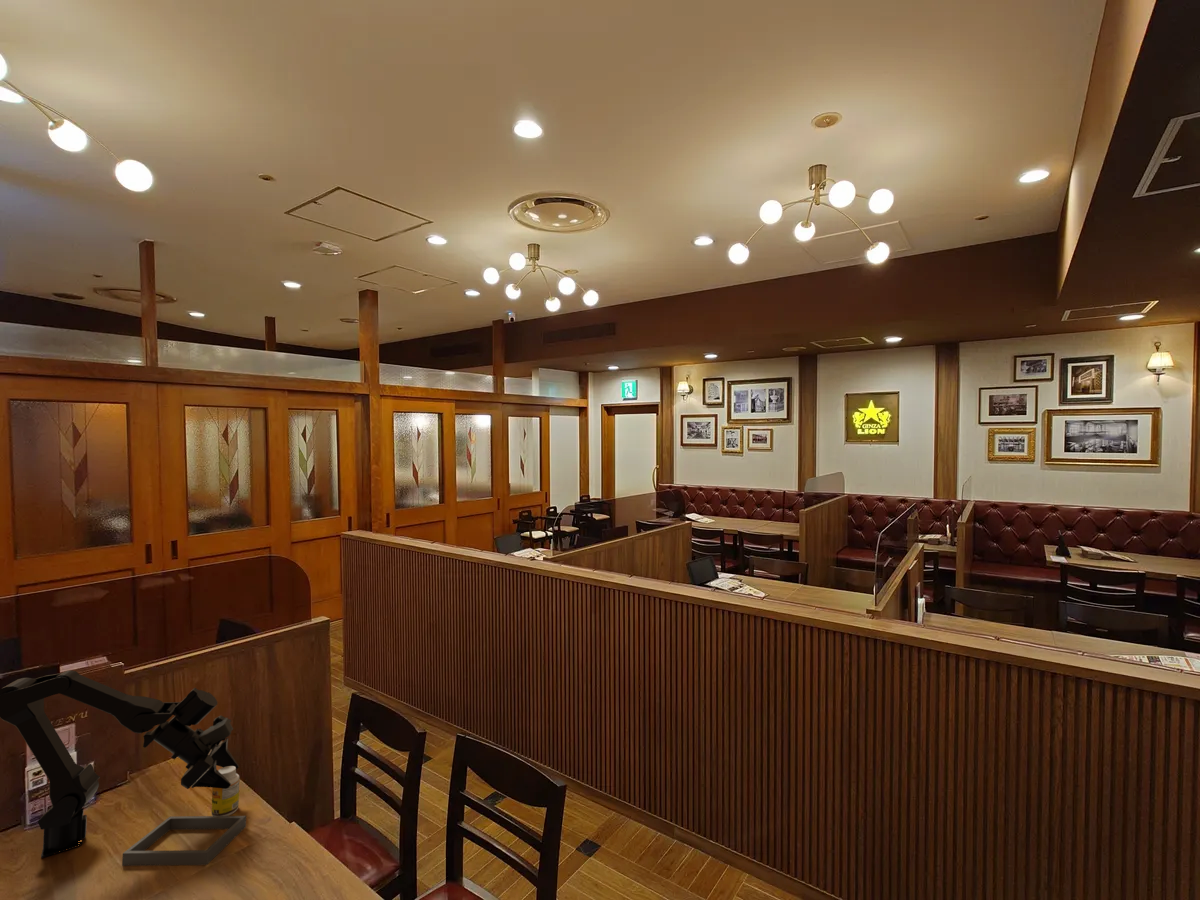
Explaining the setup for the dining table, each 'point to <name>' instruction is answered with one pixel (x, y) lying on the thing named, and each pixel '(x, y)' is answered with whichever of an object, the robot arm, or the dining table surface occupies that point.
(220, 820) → the gray open frame
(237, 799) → the supplement bottle
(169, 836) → the dining table surface
